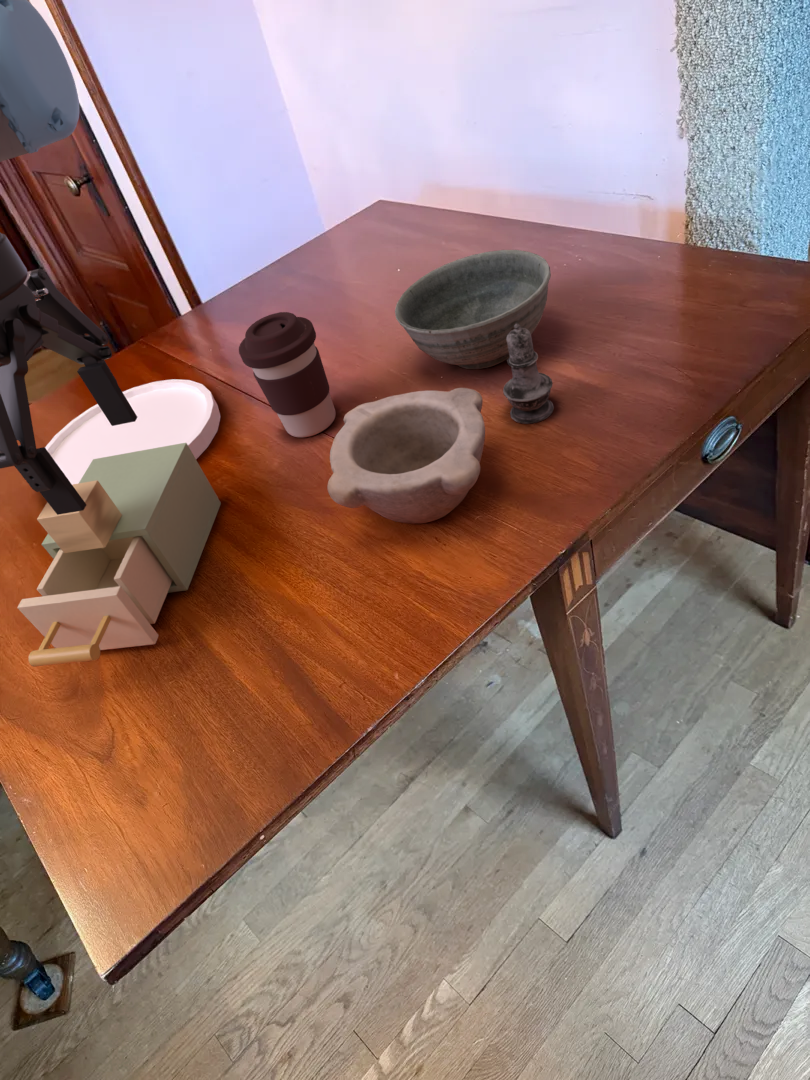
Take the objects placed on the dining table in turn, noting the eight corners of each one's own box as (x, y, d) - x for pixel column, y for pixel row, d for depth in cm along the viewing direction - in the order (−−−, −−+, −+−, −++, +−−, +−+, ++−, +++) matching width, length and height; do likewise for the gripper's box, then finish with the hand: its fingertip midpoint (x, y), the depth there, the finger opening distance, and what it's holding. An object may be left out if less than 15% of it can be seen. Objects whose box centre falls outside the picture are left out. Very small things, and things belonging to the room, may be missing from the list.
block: (105, 547, 77) (78, 512, 74) (64, 553, 78) (36, 519, 75) (122, 514, 81) (97, 479, 77) (82, 521, 82) (56, 486, 79)
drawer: (138, 686, 74) (96, 637, 69) (40, 695, 77) (-8, 649, 72) (192, 551, 87) (160, 502, 82) (106, 563, 90) (70, 516, 85)
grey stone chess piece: (555, 393, 93) (542, 305, 85) (556, 421, 88) (543, 331, 80) (508, 400, 94) (491, 314, 86) (507, 428, 90) (489, 341, 82)
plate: (241, 446, 103) (234, 432, 101) (50, 541, 99) (39, 528, 97) (197, 371, 124) (190, 358, 122) (37, 448, 119) (28, 435, 117)
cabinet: (187, 590, 84) (144, 528, 78) (89, 602, 87) (41, 544, 81) (221, 503, 95) (186, 442, 88) (133, 517, 98) (93, 459, 91)
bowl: (553, 386, 94) (542, 315, 87) (397, 402, 101) (376, 337, 94) (565, 304, 107) (556, 236, 101) (427, 323, 114) (411, 261, 108)
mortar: (494, 543, 77) (477, 475, 71) (340, 556, 81) (312, 494, 75) (501, 443, 88) (487, 377, 82) (366, 459, 93) (344, 398, 87)
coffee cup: (267, 447, 101) (220, 351, 91) (291, 404, 108) (249, 310, 98) (334, 442, 98) (292, 341, 88) (354, 398, 104) (318, 300, 94)
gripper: (-97, 315, 48) (83, 548, 61) (62, 180, 66) (173, 384, 79) (-188, 338, 49) (7, 560, 63) (-10, 201, 67) (112, 397, 81)
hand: (100, 463), depth 71 cm, fingers open, 13 cm apart
